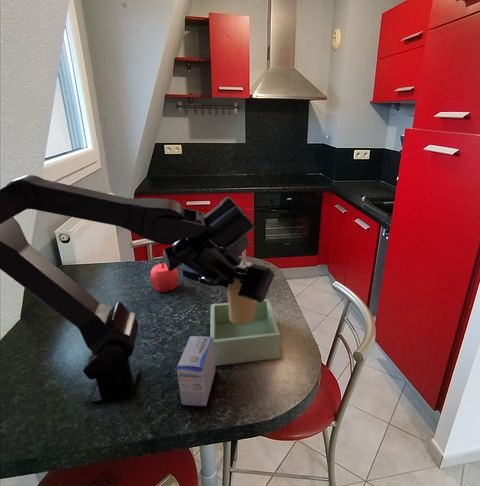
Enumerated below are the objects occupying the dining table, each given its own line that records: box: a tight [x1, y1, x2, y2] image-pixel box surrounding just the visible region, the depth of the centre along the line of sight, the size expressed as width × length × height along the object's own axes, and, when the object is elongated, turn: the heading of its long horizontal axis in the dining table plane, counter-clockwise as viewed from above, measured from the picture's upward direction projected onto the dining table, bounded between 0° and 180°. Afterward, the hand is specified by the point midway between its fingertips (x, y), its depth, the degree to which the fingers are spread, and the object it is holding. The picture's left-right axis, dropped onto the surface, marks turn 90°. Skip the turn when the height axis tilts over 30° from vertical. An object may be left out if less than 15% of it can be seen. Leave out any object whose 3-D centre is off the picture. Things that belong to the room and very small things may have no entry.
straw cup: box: [226, 249, 255, 324], centre depth 67 cm, size 6×6×15 cm
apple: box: [150, 262, 179, 293], centre depth 91 cm, size 8×8×8 cm
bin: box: [209, 298, 281, 367], centre depth 70 cm, size 14×14×6 cm
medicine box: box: [176, 335, 216, 407], centre depth 57 cm, size 8×4×9 cm, turn 178°
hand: (245, 287), depth 68 cm, fingers closed on straw cup, 5 cm apart
